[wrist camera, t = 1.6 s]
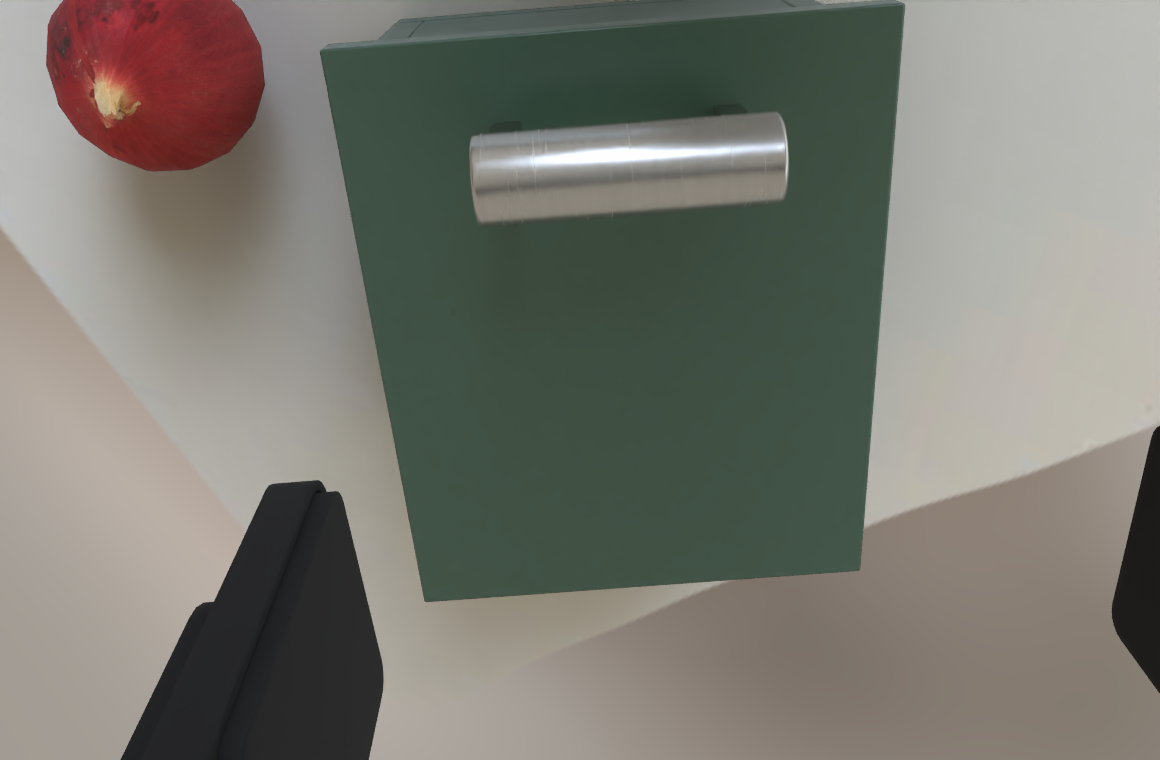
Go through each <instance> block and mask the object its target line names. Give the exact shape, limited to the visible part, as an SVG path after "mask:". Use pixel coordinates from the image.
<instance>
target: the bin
mask: <svg viewBox="0 0 1160 760" xmlns="http://www.w3.org/2000/svg"><path fill="white" fill-rule="evenodd" d="M814 5H823V4H821V3H819V2H817V1H815V0H637V1H625V2H612V3H600V4H588V5H575V6H563V7H550V8H538V9H525V10H513V11H500V12H488V13H475V14H463V15H451V16H438V17H426V18H413V19H401V20H399V21H398V22H397V23H396V24H394V25H393V26H392V27H391V28H390V29H389V30H388V31H387V32H386V33H385V34H384V35H383V36H382V37H380V38H379V39H378V40H389V39H401V38H414V37H426V36H439V35H451V34H464V33H476V32H489V31H501V30H514V29H526V28H539V27H551V26H564V25H576V24H589V23H601V22H614V21H626V20H639V19H651V18H664V17H676V16H689V15H701V14H714V13H726V12H739V11H751V10H764V9H776V8H789V7H801V6H814Z"/></svg>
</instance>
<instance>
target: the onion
mask: <svg viewBox="0 0 1160 760" xmlns="http://www.w3.org/2000/svg"><path fill="white" fill-rule="evenodd" d="M46 65H47V68H48V72H49V75H50V78H51V81H52V84H53V87H54V90H55V93H56V97H57V101H58V105H59V106H60V108H61V109H62V111H63V112H64V113H65V115H66V116H67V118H68V119H69V120H70V122H71V123H72V125H73V126H74V127H75V129H76V130H77V132H78V133H79V134H80V135H81V136H83V137H84V138H85V139H87V140H88V141H90V142H91V143H92V144H94V145H95V146H97V147H98V148H99V149H101V150H102V151H104V152H105V153H106V154H108V155H109V156H111V157H113V158H116V159H118V160H121V161H124V162H126V163H129V164H131V165H134V166H136V167H139V168H141V169H144V170H148V171H173V170H190V169H193V168H196V167H199V166H201V165H204V164H206V163H208V162H210V161H212V160H214V159H216V158H218V157H220V156H222V155H224V154H226V153H229V152H230V151H231V149H232V148H233V147H234V146H235V145H236V143H237V142H238V141H239V140H240V139H241V138H242V136H243V135H244V134H245V133H246V132H247V130H248V129H249V128H250V127H251V126H252V124H253V122H254V120H255V118H256V114H257V111H258V107H259V104H260V100H261V97H262V93H263V90H264V86H265V82H264V72H263V62H262V52H261V46H260V44H259V42H258V40H257V38H256V36H255V34H254V32H253V31H252V29H251V27H250V25H249V23H248V21H247V19H246V17H245V15H244V13H243V12H242V10H241V9H240V8H239V7H238V6H237V5H236V4H235V3H234V2H233V1H232V0H63V1H62V3H61V4H60V5H59V7H58V8H57V9H56V11H55V12H54V13H53V15H52V16H51V19H50V21H49V24H48V37H47V60H46Z"/></svg>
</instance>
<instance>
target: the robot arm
mask: <svg viewBox="0 0 1160 760" xmlns="http://www.w3.org/2000/svg"><path fill="white" fill-rule="evenodd" d="M1112 619H1113V623H1114V626H1115V629H1116V632H1117V634H1118V636H1119V637H1120V639H1121V641H1122V642H1123V643H1124V645H1125V646H1126V647H1127V649H1128V650H1129V652H1130V653H1131V654H1132V656H1133V657H1134V659H1135V660H1136V661H1137V663H1138V664H1139V666H1140V667H1141V668H1142V670H1143V671H1144V672H1145V674H1146V675H1147V676H1148V678H1149V679H1150V681H1151V682H1152V683H1153V685H1154V686H1155V688H1156V689H1157V690H1158V692H1159V693H1160V426H1159V427H1157V428H1156V430H1155V431H1154V432H1153V435H1152V438H1151V442H1150V446H1149V451H1148V454H1147V459H1146V463H1145V467H1144V472H1143V476H1142V480H1141V484H1140V489H1139V493H1138V497H1137V502H1136V506H1135V510H1134V514H1133V518H1132V523H1131V527H1130V532H1129V535H1128V540H1127V544H1126V548H1125V553H1124V557H1123V561H1122V565H1121V569H1120V574H1119V578H1118V583H1117V586H1116V591H1115V595H1114V599H1113V604H1112ZM382 692H383V665H382V659H381V655H380V651H379V647H378V643H377V639H376V635H375V631H374V626H373V622H372V618H371V614H370V610H369V606H368V602H367V597H366V593H365V589H364V585H363V581H362V577H361V573H360V568H359V564H358V560H357V556H356V552H355V548H354V544H353V540H352V535H351V531H350V527H349V523H348V519H347V515H346V511H345V506H344V502H343V499H342V496H341V495H340V493H339V492H337V491H334V492H326V489H325V487H324V485H323V484H322V482H320V481H319V480H316V481H303V482H291V483H278V484H271V485H269V486H268V488H267V489H266V491H265V493H264V495H263V497H262V499H261V501H260V504H259V506H258V508H257V510H256V512H255V514H254V517H253V519H252V521H251V523H250V525H249V527H248V530H247V532H246V534H245V536H244V538H243V540H242V543H241V545H240V547H239V549H238V551H237V554H236V556H235V558H234V560H233V562H232V564H231V566H230V568H229V571H228V573H227V575H226V577H225V579H224V581H223V584H222V586H221V588H220V590H219V592H218V594H217V597H216V599H215V601H214V602H206V603H203V604H201V605H199V606H198V607H196V609H195V610H194V612H193V613H192V615H191V616H190V618H189V620H188V622H187V624H186V626H185V628H184V630H183V632H182V634H181V636H180V638H179V640H178V643H177V645H176V647H175V649H174V651H173V653H172V655H171V657H170V659H169V661H168V663H167V665H166V667H165V669H164V672H163V673H162V676H161V678H160V680H159V682H158V684H157V686H156V688H155V690H154V692H153V694H152V697H151V698H150V700H149V702H148V704H147V706H146V708H145V711H144V713H143V715H142V717H141V719H140V721H139V723H138V725H137V727H136V729H135V731H134V733H133V735H132V737H131V739H130V741H129V743H128V746H127V748H126V750H125V752H124V754H123V756H122V758H121V760H369V755H370V751H371V746H372V741H373V736H374V731H375V726H376V721H377V717H378V712H379V708H380V703H381V698H382Z"/></svg>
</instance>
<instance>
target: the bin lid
mask: <svg viewBox="0 0 1160 760" xmlns="http://www.w3.org/2000/svg"><path fill="white" fill-rule="evenodd" d="M904 13H905V4H904V3H902V2H899V1H896V0H876V1H864V2H851V3H839V4H826V5H814V6H801V7H789V8H776V9H764V10H751V11H739V12H726V13H714V14H701V15H689V16H676V17H664V18H651V19H639V20H626V21H614V22H601V23H589V24H576V25H564V26H551V27H539V28H526V29H514V30H501V31H489V32H476V33H464V34H451V35H439V36H426V37H414V38H401V39H389V40H376V41H364V42H351V43H339V44H328V45H327V46H325V47H324V48H323V49H321V50H320V55H321V60H322V65H323V70H324V76H325V81H326V86H327V91H328V97H329V102H330V107H331V112H332V118H333V123H334V128H335V133H336V139H337V144H338V149H339V154H340V160H341V165H342V170H343V176H344V181H345V186H346V191H347V197H348V202H349V207H350V212H351V218H352V223H353V228H354V233H355V239H356V244H357V249H358V254H359V260H360V265H361V270H362V275H363V281H364V286H365V291H366V296H367V302H368V307H369V312H370V317H371V323H372V328H373V333H374V338H375V344H376V349H377V354H378V359H379V365H380V370H381V375H382V380H383V386H384V391H385V396H386V401H387V407H388V412H389V417H390V422H391V428H392V433H393V438H394V443H395V449H396V454H397V459H398V464H399V470H400V475H401V480H402V485H403V491H404V496H405V501H406V506H407V512H408V517H409V522H410V527H411V533H412V538H413V543H414V548H415V554H416V559H417V564H418V569H419V575H420V580H421V585H422V590H423V596H424V600H425V602H434V601H448V600H462V599H475V598H489V597H503V596H517V595H531V594H545V593H558V592H572V591H586V590H600V589H614V588H628V587H641V586H655V585H669V584H683V583H697V582H711V581H725V580H738V579H752V578H765V577H780V576H794V575H807V574H821V573H835V572H849V571H859V570H860V564H861V552H862V539H863V527H864V515H865V502H866V489H867V477H868V464H869V452H870V439H871V427H872V414H873V402H874V389H875V377H876V364H877V352H878V339H879V326H880V314H881V301H882V289H883V276H884V264H885V251H886V239H887V226H888V214H889V201H890V189H891V176H892V163H893V151H894V138H895V126H896V113H897V101H898V88H899V76H900V63H901V51H902V38H903V26H904Z"/></svg>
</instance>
